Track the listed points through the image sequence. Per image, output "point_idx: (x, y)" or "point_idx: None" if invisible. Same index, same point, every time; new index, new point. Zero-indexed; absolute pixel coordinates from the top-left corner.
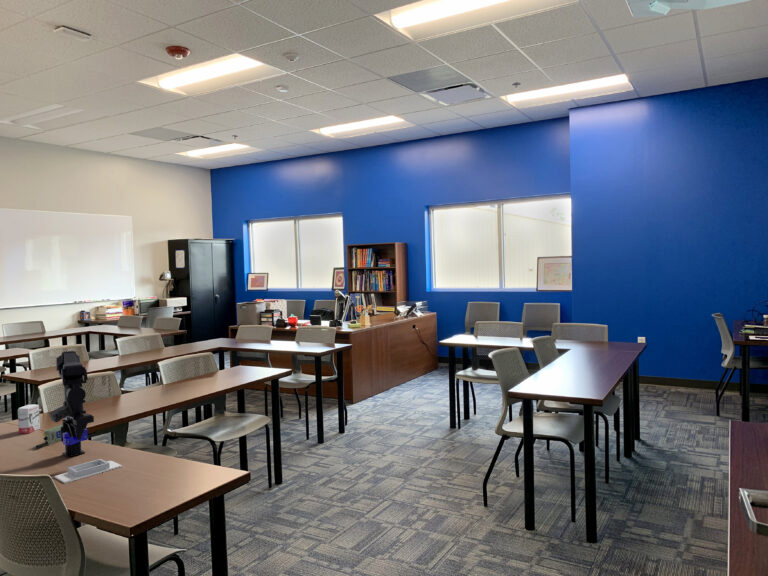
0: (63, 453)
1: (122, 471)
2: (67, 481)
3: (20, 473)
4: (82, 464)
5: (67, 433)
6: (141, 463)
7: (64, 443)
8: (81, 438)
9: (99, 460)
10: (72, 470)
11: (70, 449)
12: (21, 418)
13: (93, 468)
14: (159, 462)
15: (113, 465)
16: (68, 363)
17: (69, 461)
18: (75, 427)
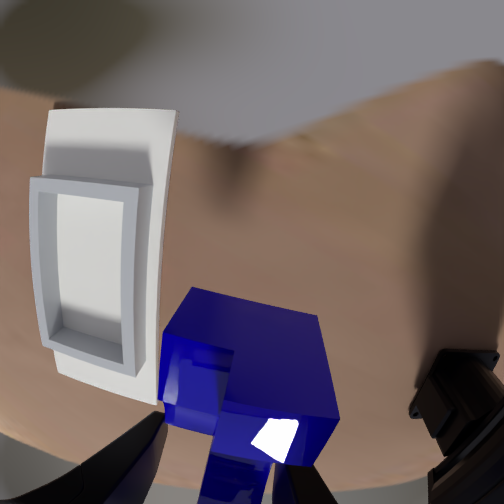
0: (491, 356)
1: (17, 332)
2: (49, 124)
3: (451, 71)
4: (121, 276)
5: (219, 441)
6: (56, 410)
7: (252, 309)
8: (208, 455)
9: (121, 361)
10: (70, 180)
11: (459, 385)
12: None
13: (35, 268)
14: (33, 423)
15: (79, 362)
16: None
17: (387, 323)
18: (7, 501)
